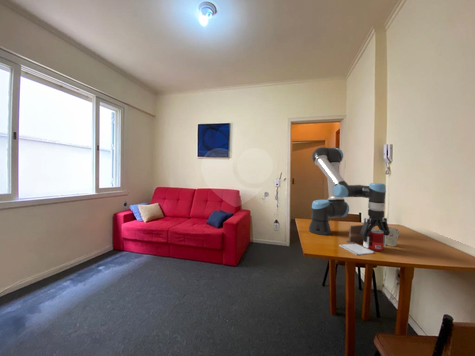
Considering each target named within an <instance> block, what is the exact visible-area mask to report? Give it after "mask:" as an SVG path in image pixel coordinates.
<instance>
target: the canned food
mask: <svg viewBox="0 0 475 356" xmlns="http://www.w3.org/2000/svg"><path fill="white" fill-rule="evenodd" d="M368 237H369V248H368V249H370V250H372V251H374V252H382V251H383V250H384V246H383V237H384V231H382V230H380V229H379V228H375V227H373V229H372V230H371V232H370V234H369V235H368Z"/></svg>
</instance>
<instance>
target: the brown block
mask: <svg viewBox="0 0 475 356" xmlns="http://www.w3.org/2000/svg"><path fill="white" fill-rule="evenodd" d="M362 227H363V224H355V225H349V228H348V239H346V240H345V242H346V243H347V244H354V243H356V244H361V243H363V235H361V234H360V232H361V229H362Z"/></svg>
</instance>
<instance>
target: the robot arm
mask: <svg viewBox="0 0 475 356" xmlns="http://www.w3.org/2000/svg"><path fill="white" fill-rule="evenodd" d="M311 158H312V161H313V164H315V166H318V168H319V170H321V172H322V173H323V174H324V175H325V177H326V179H327V189H328V198H327V199H316V200H313V201H312V204H311V221H310V223H309V226H308V231H309V232H310V233H312V234H315V235H320V236H328V235H331V233H332V229H331V225H330V223H329V222H330V218H331V219H332V218H339V219H340V218H345V217H347V215H348V214H349V212H350V205H349V204H348V203H347V202H346V201H345V198H366V199H368V202H367V203H368V204H367V205H368V206H367V208H368V209H367V215H368V218H366V217H365V218H364V219H363V220H364V221H363V224H362V225H363V227H362V229H361V232H360V234H361V235H363V242H362V243H363V244H362V246H363V247H365V248H369V237H368V235H369V234H370V232H371V230H372V229H373V228H375V227H377V229H379V230H382V231H384V237H383V248H384V247H386V246H387V245H386V235H387V236H388V235H389V234H390V232H389V228H388V227H389V226H388V218H387V217H385V208H386V207H385V204H386V192H387V190H386V189H387V187H386V184H385V183H381V182H380V183H379V182H378V183H377V182H370V183H368V185H364V184H348V183H347V182H346V181H345V179H344V178H343V177H342V176H341V174H340V168H339V166H340V165H341V162H342V161H343V159H344V153H343V151H342V150H341V149H340V148H336V147H325V146H324V147H323V146H320V147H317V148H316V149H315V150H314V151H313V152H312V155H311Z"/></svg>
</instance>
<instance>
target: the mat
mask: <svg viewBox="0 0 475 356" xmlns="http://www.w3.org/2000/svg"><path fill="white" fill-rule="evenodd" d="M338 246H339V247H340V248H342V249H344V250H346V251H348V252H350V253H351V254H354V255H356V256H361V255H362V256H363V255H370V254H375V252H376V251H373V250H370V249H368V248H366V247H364V246H363V245H361V244H360V243H354V244H350V243H347V244H339V245H338Z"/></svg>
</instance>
